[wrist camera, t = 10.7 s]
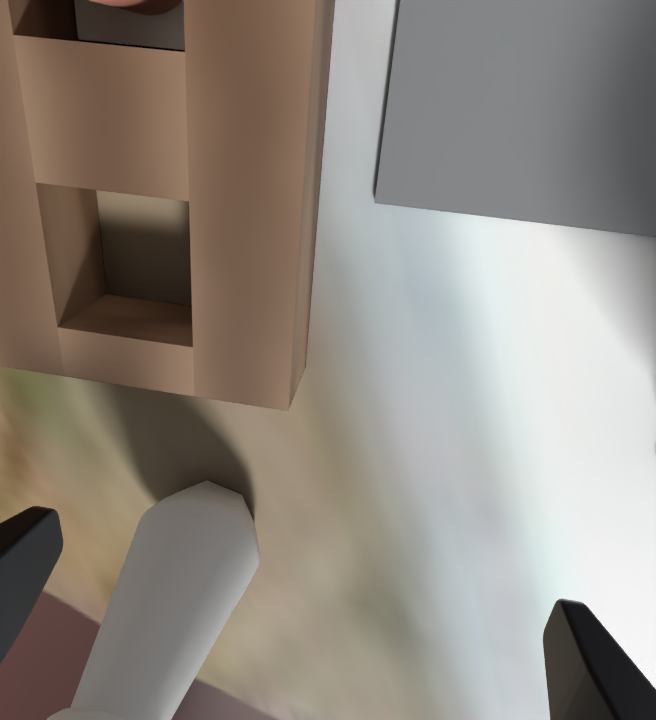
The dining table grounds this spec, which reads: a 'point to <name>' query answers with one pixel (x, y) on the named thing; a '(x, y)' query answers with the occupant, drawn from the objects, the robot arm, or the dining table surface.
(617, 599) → the dining table surface
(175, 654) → the salt shaker
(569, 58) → the mat
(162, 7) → the peg
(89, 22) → the socket block
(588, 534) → the dining table surface
